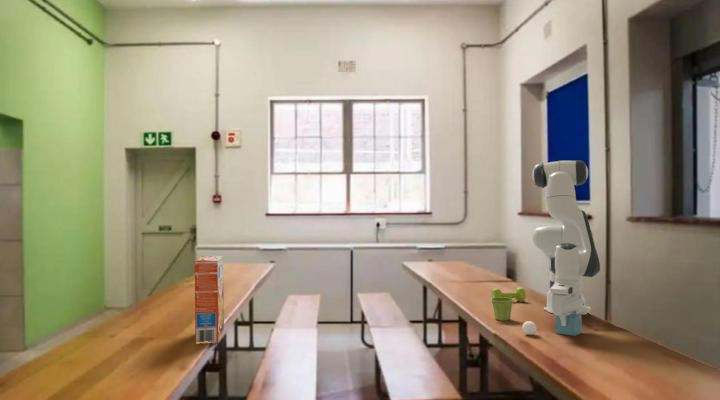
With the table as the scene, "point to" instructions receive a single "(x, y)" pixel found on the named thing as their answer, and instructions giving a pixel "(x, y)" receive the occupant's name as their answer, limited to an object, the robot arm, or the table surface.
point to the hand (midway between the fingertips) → (568, 323)
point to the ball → (529, 328)
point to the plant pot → (502, 308)
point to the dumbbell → (510, 294)
